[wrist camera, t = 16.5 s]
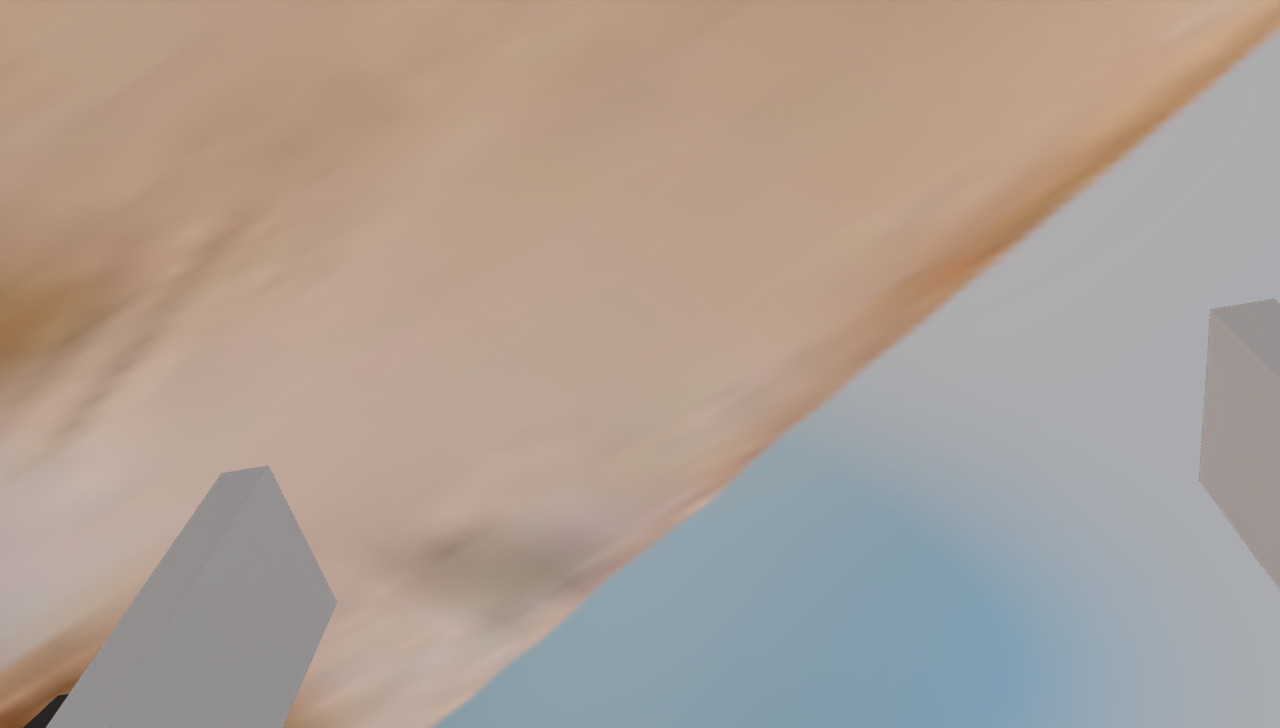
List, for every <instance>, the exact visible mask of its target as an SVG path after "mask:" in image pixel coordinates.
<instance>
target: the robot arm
mask: <svg viewBox="0 0 1280 728" xmlns="http://www.w3.org/2000/svg"><path fill="white" fill-rule="evenodd" d="M1203 412H1204V413H1203V426H1202V441H1201V456H1200V472H1199V481H1200V482H1201V484H1202V485H1203V486H1204V487H1205V489H1206V490H1207V492H1208V493H1209V495H1210V496H1211V497H1212V499H1213V500H1214V501H1215V503H1216V504H1217V506H1218V507H1219V508H1220V510H1221V511H1222V512H1223V514H1224V515H1225V516H1226V518H1227V519H1228V521H1229V522H1230V523H1231V525H1232V526H1233V527H1234V529H1235V530H1236V532H1237V533H1238V534H1239V536H1240V537H1241V538H1242V540H1243V541H1244V542H1245V544H1246V545H1247V546H1248V548H1249V549H1250V551H1251V552H1252V553H1253V555H1254V556H1255V557H1256V559H1257V560H1258V562H1259V563H1260V564H1261V566H1262V567H1263V568H1264V570H1265V571H1266V572H1267V574H1268V575H1269V577H1270V578H1271V579H1272V581H1273V582H1274V584H1275V585H1276V586H1277V587H1278V589H1279V590H1280V303H1278V302H1277V301H1276V300H1275V299H1271V300H1264V301H1258V302H1252V303H1246V304H1240V305H1234V306H1229V307H1222V308H1216V309H1210V319H1209V335H1208V351H1207V367H1206V381H1205V396H1204V410H1203ZM336 604H337V600H336V598H335V597H334V595H333V593H332V591H331V589H330V587H329V585H328V583H327V581H326V579H325V577H324V575H323V573H322V571H321V569H320V567H319V565H318V563H317V561H316V559H315V557H314V555H313V553H312V551H311V549H310V547H309V545H308V543H307V541H306V539H305V537H304V535H303V533H302V531H301V529H300V527H299V525H298V523H297V521H296V519H295V517H294V515H293V513H292V511H291V509H290V507H289V505H288V503H287V501H286V499H285V497H284V495H283V493H282V491H281V489H280V487H279V485H278V483H277V481H276V479H275V477H274V475H273V473H272V471H271V469H270V467H269V466H263V467H257V468H251V469H245V470H239V471H233V472H227V473H221V475H220V476H219V478H218V479H217V481H216V482H215V483H214V485H213V486H212V488H211V489H210V491H209V492H208V494H207V495H206V497H205V498H204V499H203V501H202V502H201V504H200V505H199V507H198V508H197V510H196V511H195V512H194V514H193V515H192V517H191V518H190V520H189V521H188V523H187V524H186V525H185V527H184V528H183V530H182V531H181V533H180V534H179V536H178V537H177V538H176V540H175V541H174V543H173V544H172V546H171V547H170V549H169V550H168V552H167V553H166V554H165V556H164V557H163V559H162V560H161V562H160V563H159V565H158V566H157V567H156V569H155V570H154V572H153V573H152V575H151V576H150V578H149V579H148V580H147V582H146V583H145V585H144V586H143V588H142V589H141V591H140V592H139V593H138V595H137V596H136V598H135V599H134V601H133V602H132V604H131V605H130V607H129V608H128V609H127V611H126V612H125V614H124V615H123V617H122V618H121V620H120V621H119V622H118V624H117V625H116V627H115V628H114V630H113V631H112V633H111V634H110V635H109V637H108V638H107V640H106V641H105V643H104V644H103V646H102V647H101V648H100V650H99V651H98V653H97V654H96V656H95V657H94V659H93V660H92V662H91V663H90V664H89V666H88V667H87V669H86V670H85V672H84V673H83V675H82V676H81V677H80V679H79V680H78V682H77V683H76V685H75V686H74V688H73V689H72V690H71V692H70V693H69V694H66V695H59V696H57V697H56V698H55V699H54V700H53V701H52V702H51V703H50V704H48V705H47V706H46V707H45V708H44V709H43V710H42V711H41V712H40V713H39V714H38V715H37V716H35V717H34V718H33V719H32V720H31V721H30V722H29V723H28V724H27V725H26V726H25V727H24V728H282V727H283V724H284V722H285V720H286V717H287V715H288V713H289V711H290V708H291V706H292V704H293V702H294V699H295V697H296V695H297V692H298V690H299V688H300V686H301V683H302V681H303V679H304V677H305V674H306V672H307V670H308V667H309V665H310V663H311V661H312V658H313V656H314V654H315V651H316V649H317V647H318V645H319V642H320V640H321V638H322V636H323V633H324V631H325V629H326V626H327V624H328V622H329V620H330V617H331V615H332V613H333V610H334V608H335V606H336Z"/></svg>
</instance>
